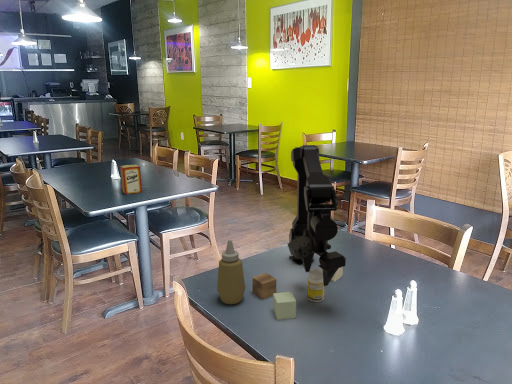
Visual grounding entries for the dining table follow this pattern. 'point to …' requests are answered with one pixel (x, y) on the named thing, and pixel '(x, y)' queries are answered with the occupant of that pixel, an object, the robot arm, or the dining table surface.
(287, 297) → the sage block
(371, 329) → the dining table surface
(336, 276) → the cream block
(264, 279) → the walnut block
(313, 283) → the supplement bottle
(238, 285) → the squeeze bottle
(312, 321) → the dining table surface
